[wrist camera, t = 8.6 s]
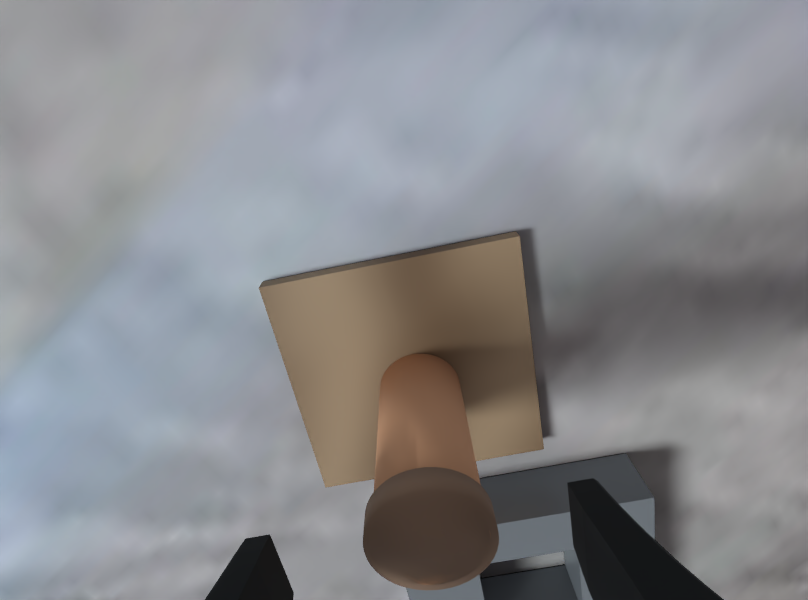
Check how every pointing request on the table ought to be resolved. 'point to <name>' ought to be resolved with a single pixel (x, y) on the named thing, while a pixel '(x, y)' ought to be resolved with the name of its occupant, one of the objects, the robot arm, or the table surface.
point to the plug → (426, 482)
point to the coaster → (409, 346)
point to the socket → (547, 528)
